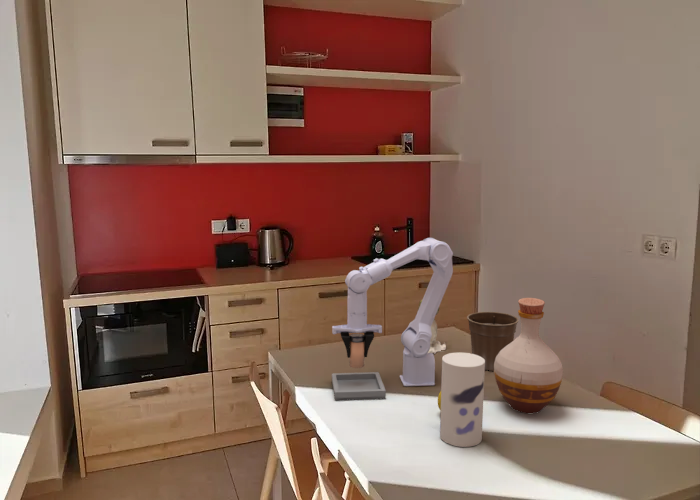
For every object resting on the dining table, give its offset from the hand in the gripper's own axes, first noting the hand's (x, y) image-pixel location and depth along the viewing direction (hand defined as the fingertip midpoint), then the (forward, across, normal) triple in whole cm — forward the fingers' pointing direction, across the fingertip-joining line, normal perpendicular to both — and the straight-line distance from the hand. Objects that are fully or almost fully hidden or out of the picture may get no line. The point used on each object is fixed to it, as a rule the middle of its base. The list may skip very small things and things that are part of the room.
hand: (356, 356), depth 167 cm
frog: (+10, +29, +32) cm, 45 cm away
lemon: (+10, +22, -22) cm, 32 cm away
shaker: (+3, 0, 0) cm, 3 cm away
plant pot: (+10, +46, +14) cm, 49 cm away
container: (+10, +22, -34) cm, 41 cm away
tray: (+9, 0, -2) cm, 10 cm away
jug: (+10, +45, -18) cm, 49 cm away
